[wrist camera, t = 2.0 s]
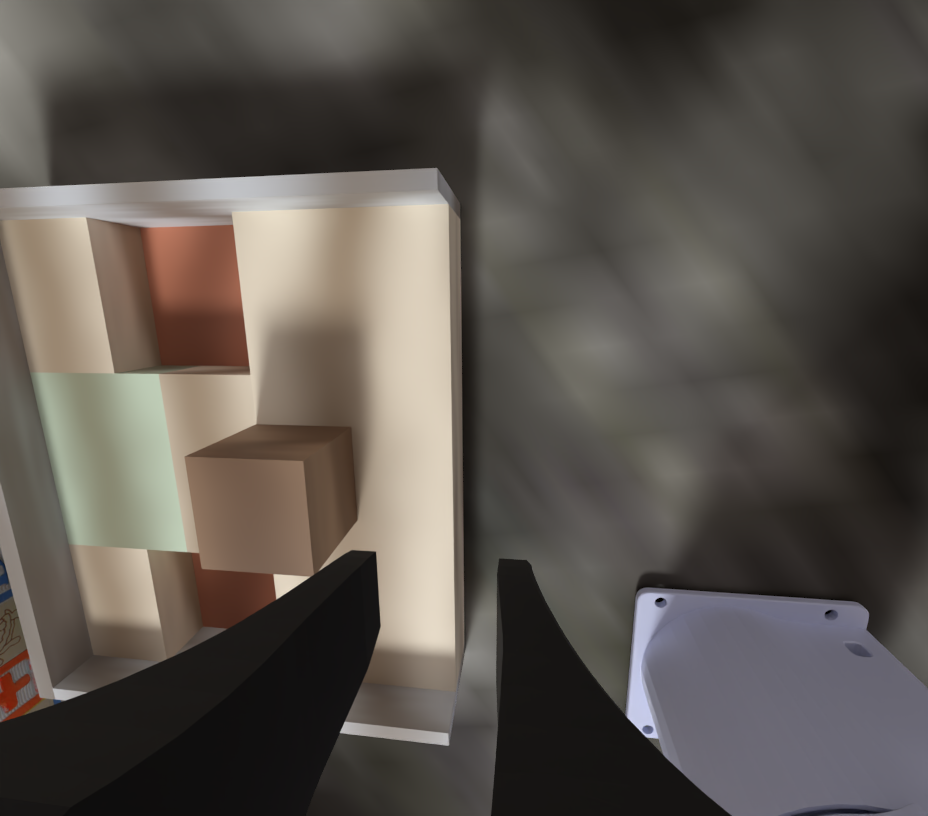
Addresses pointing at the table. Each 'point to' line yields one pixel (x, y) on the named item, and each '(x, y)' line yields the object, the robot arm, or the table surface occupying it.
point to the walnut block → (273, 498)
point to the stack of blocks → (15, 660)
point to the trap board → (229, 412)
